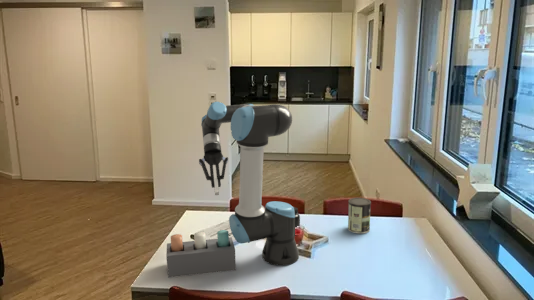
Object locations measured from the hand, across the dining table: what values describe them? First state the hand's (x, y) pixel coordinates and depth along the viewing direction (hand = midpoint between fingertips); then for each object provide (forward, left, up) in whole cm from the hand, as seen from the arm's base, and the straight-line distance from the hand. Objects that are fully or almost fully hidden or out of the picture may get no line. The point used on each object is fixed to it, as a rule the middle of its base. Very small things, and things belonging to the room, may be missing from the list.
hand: (217, 193), depth 187 cm
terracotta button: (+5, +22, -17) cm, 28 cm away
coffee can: (-46, -48, -26) cm, 72 cm away
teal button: (-9, +10, -17) cm, 22 cm away
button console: (-2, +16, -25) cm, 30 cm away
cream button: (-2, +16, -17) cm, 24 cm away
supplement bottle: (-20, -30, -26) cm, 45 cm away
